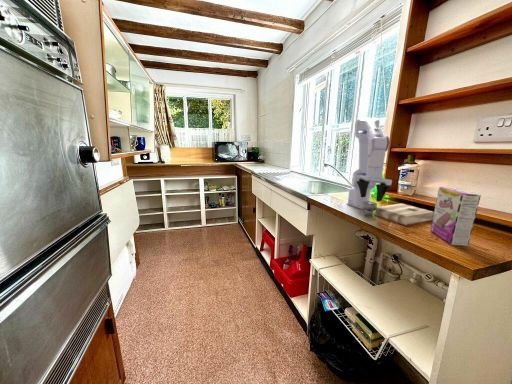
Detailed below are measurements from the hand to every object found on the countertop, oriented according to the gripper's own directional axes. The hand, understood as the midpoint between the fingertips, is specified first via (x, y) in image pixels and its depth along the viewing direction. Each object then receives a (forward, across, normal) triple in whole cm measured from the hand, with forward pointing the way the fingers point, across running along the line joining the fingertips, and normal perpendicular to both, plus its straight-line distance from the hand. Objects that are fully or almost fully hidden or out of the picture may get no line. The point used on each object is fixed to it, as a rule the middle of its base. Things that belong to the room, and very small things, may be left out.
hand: (370, 199), depth 89 cm
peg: (+8, 0, 0) cm, 8 cm away
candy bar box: (+8, +26, +5) cm, 28 cm away
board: (+8, +6, +13) cm, 16 cm away
